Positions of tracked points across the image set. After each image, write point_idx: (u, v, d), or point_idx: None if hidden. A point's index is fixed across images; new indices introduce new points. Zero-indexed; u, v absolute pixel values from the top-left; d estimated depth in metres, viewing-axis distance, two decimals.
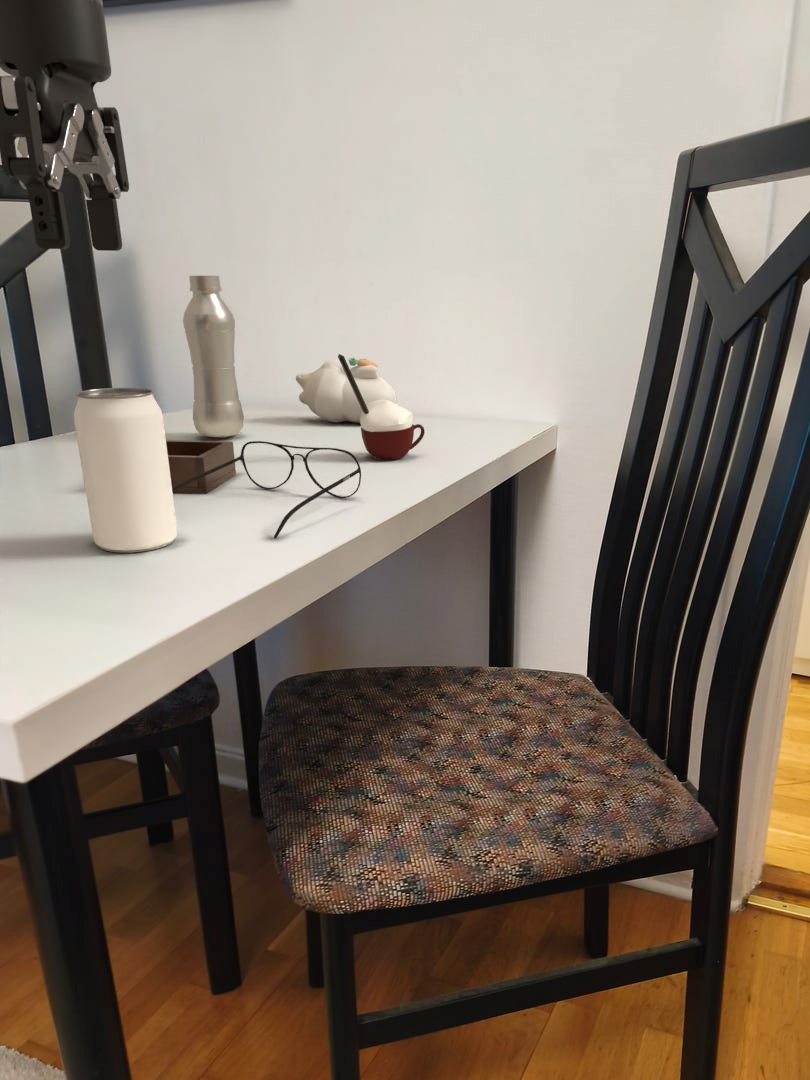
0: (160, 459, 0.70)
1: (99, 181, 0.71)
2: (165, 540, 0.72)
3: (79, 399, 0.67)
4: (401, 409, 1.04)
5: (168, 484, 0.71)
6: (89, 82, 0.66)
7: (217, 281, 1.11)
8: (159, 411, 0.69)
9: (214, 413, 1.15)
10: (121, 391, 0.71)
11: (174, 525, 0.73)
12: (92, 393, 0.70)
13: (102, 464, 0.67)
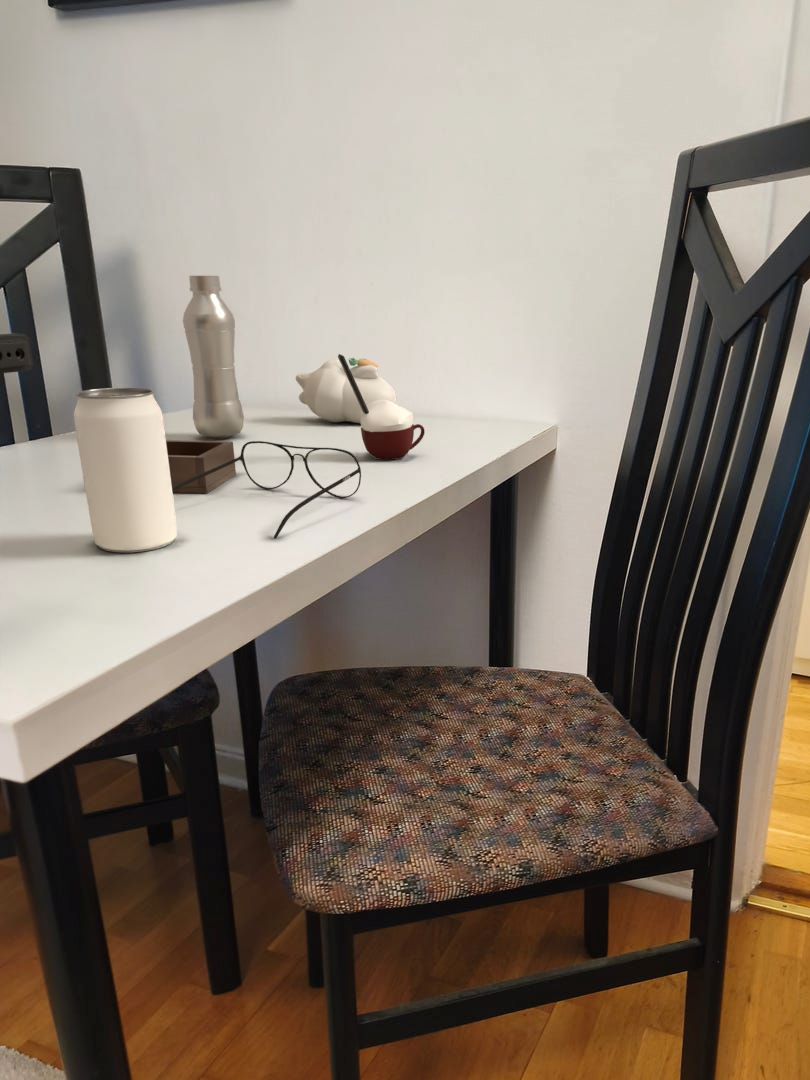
0: (160, 459, 0.70)
1: None
2: (165, 540, 0.72)
3: (79, 399, 0.67)
4: (401, 409, 1.04)
5: (168, 484, 0.71)
6: None
7: (217, 281, 1.11)
8: (159, 411, 0.69)
9: (214, 413, 1.15)
10: (121, 391, 0.71)
11: (174, 525, 0.73)
12: (92, 393, 0.70)
13: (102, 464, 0.67)
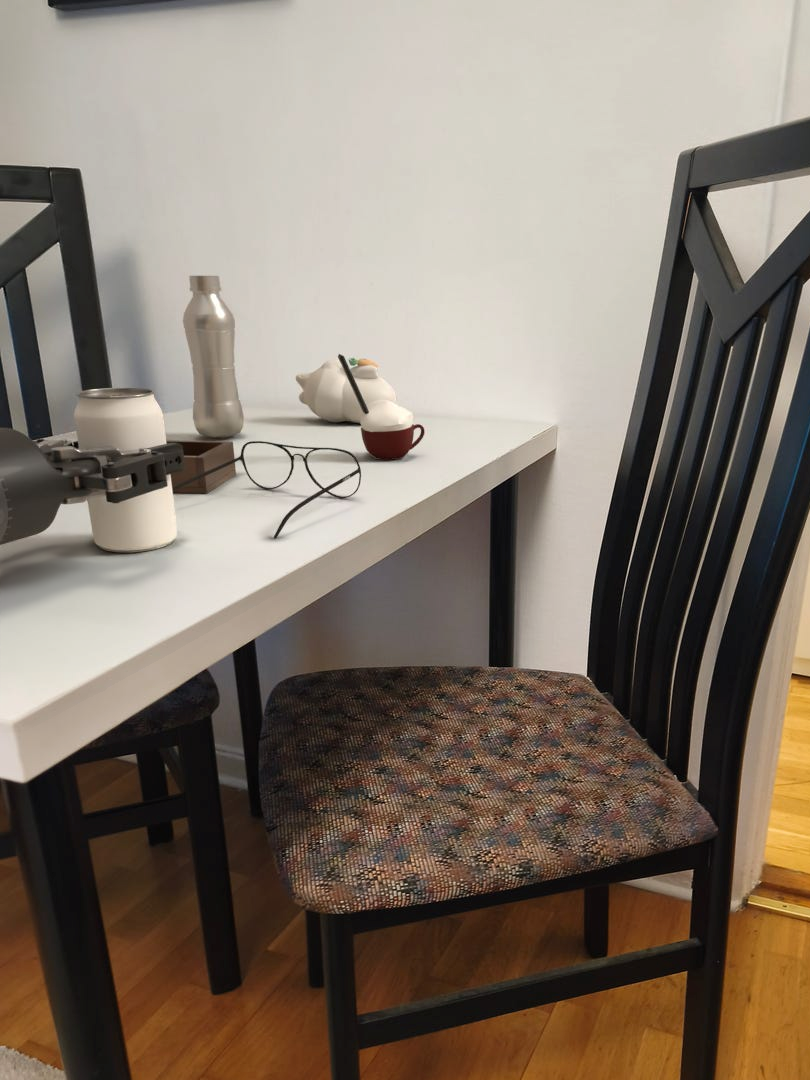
0: None
1: None
2: (165, 540, 0.72)
3: (80, 399, 0.67)
4: (401, 409, 1.04)
5: (168, 484, 0.71)
6: None
7: (217, 281, 1.11)
8: (159, 411, 0.69)
9: (214, 413, 1.15)
10: (122, 391, 0.71)
11: (174, 525, 0.73)
12: (92, 393, 0.70)
13: (102, 464, 0.67)
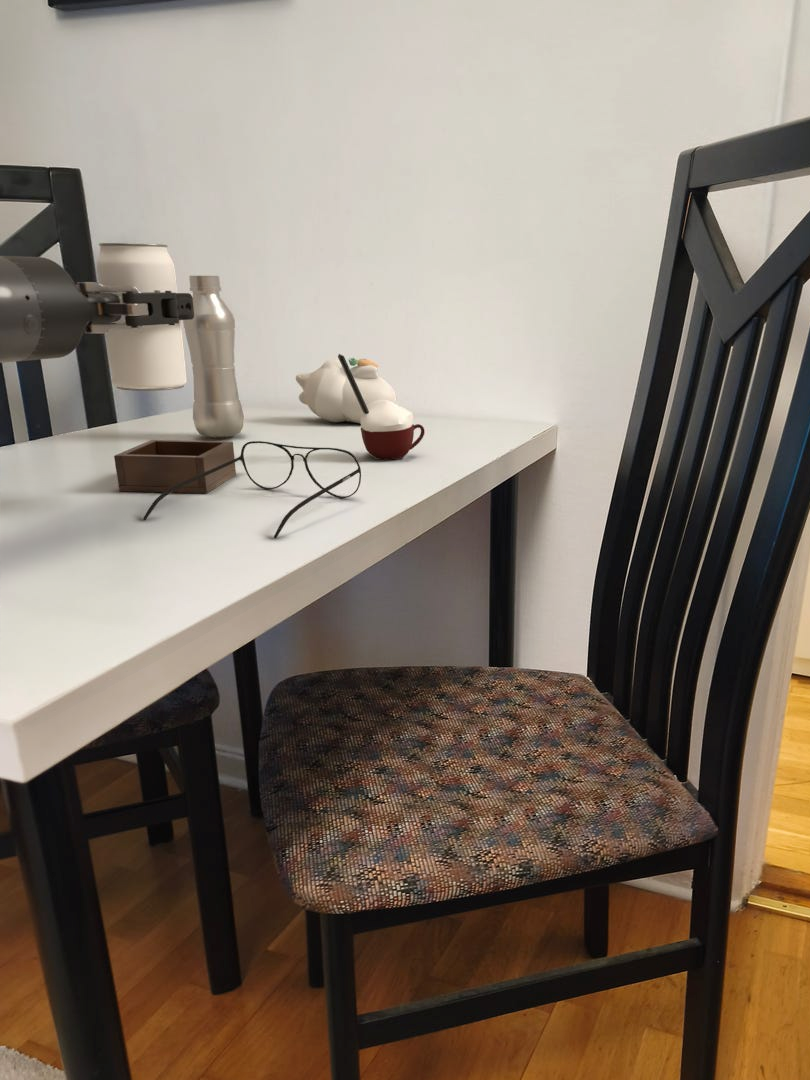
0: None
1: None
2: (176, 382, 0.80)
3: (102, 247, 0.76)
4: (401, 409, 1.04)
5: (179, 331, 0.80)
6: None
7: (217, 281, 1.11)
8: (172, 263, 0.78)
9: (214, 413, 1.15)
10: None
11: (184, 371, 0.81)
12: None
13: None
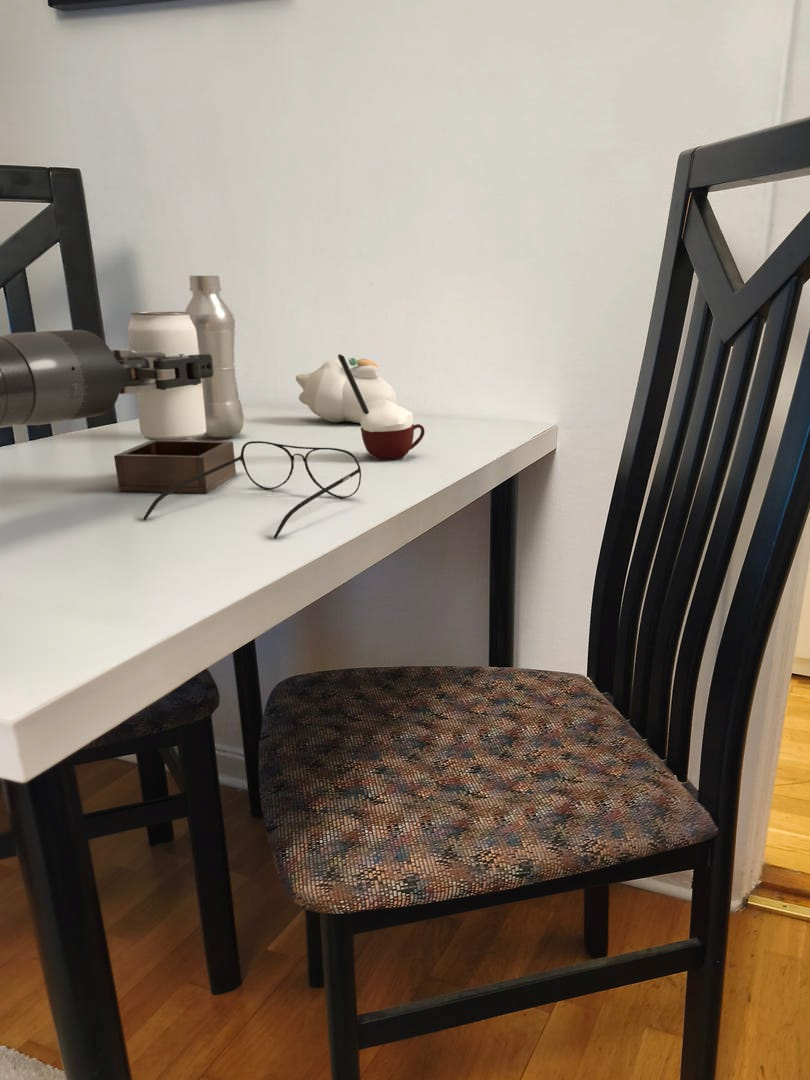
0: None
1: None
2: (197, 432, 0.90)
3: (133, 316, 0.86)
4: (401, 409, 1.04)
5: (200, 388, 0.90)
6: None
7: (217, 281, 1.11)
8: (194, 328, 0.88)
9: (214, 413, 1.15)
10: None
11: (204, 422, 0.91)
12: None
13: (150, 367, 0.86)
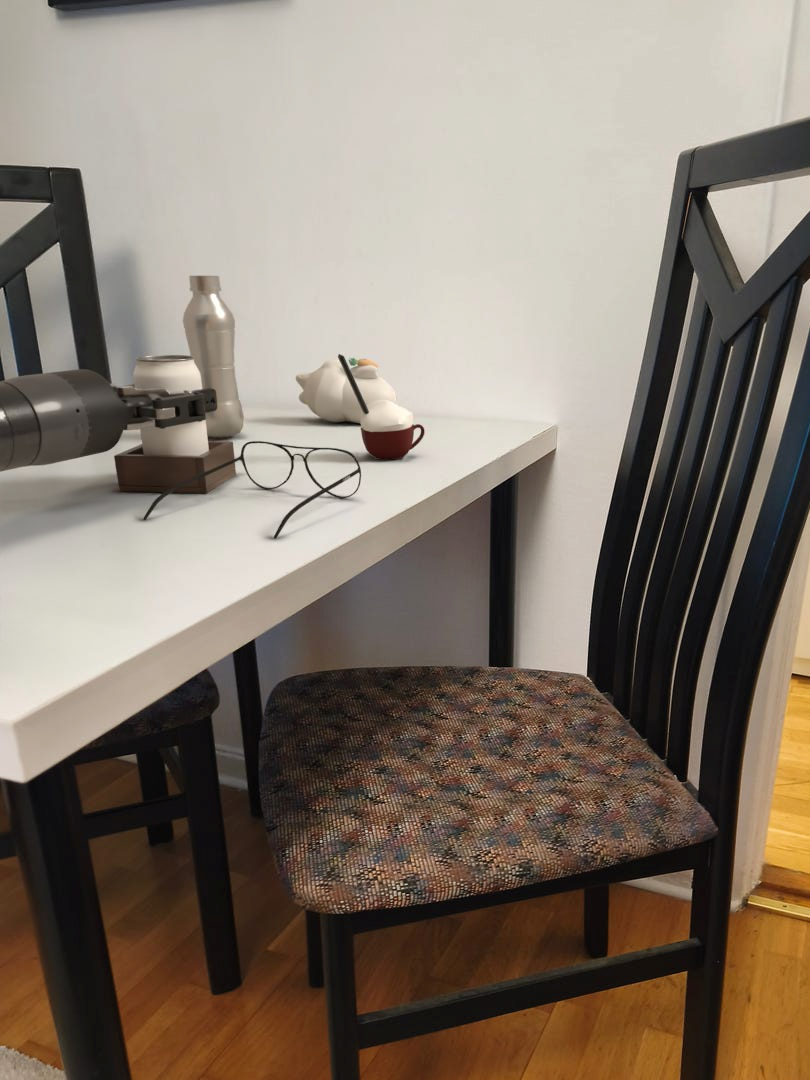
0: None
1: None
2: None
3: (138, 362, 0.87)
4: (401, 409, 1.04)
5: (204, 430, 0.91)
6: None
7: (217, 281, 1.11)
8: (198, 372, 0.89)
9: (214, 413, 1.15)
10: (168, 358, 0.91)
11: None
12: (146, 359, 0.90)
13: None
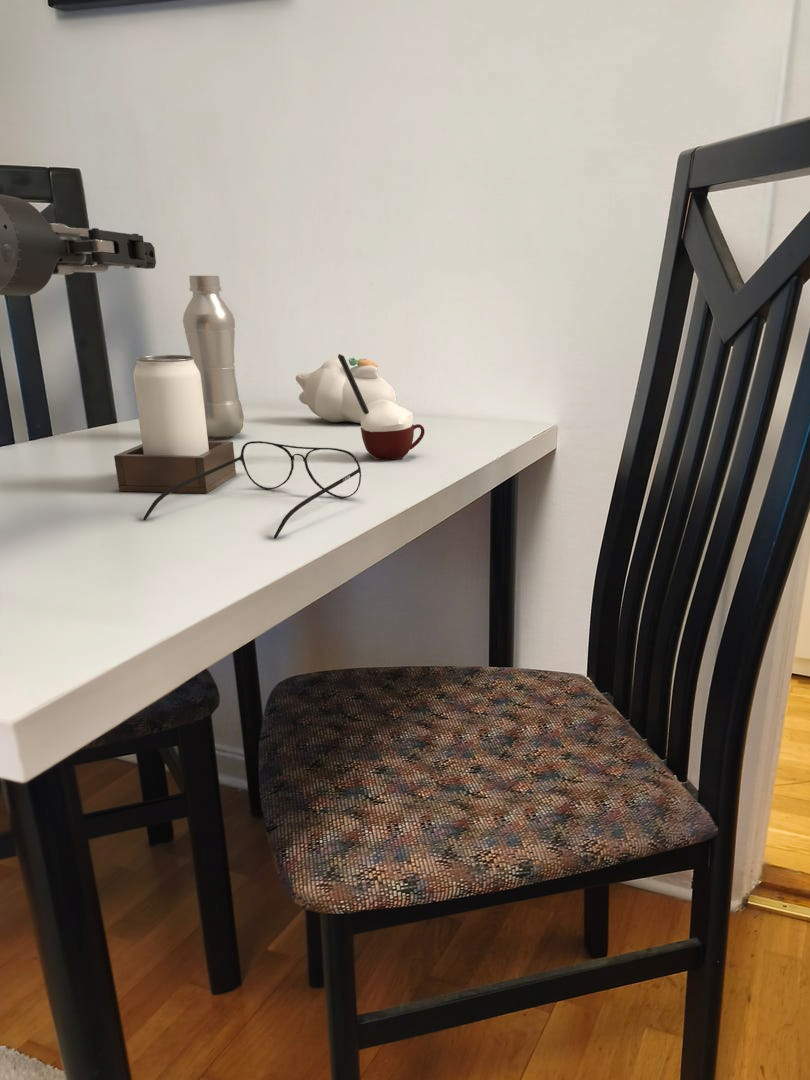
0: (199, 410, 0.90)
1: None
2: None
3: (138, 362, 0.87)
4: (401, 409, 1.04)
5: (204, 430, 0.91)
6: None
7: (217, 281, 1.11)
8: (198, 372, 0.89)
9: (214, 413, 1.15)
10: (168, 357, 0.91)
11: None
12: (146, 359, 0.90)
13: (155, 412, 0.88)
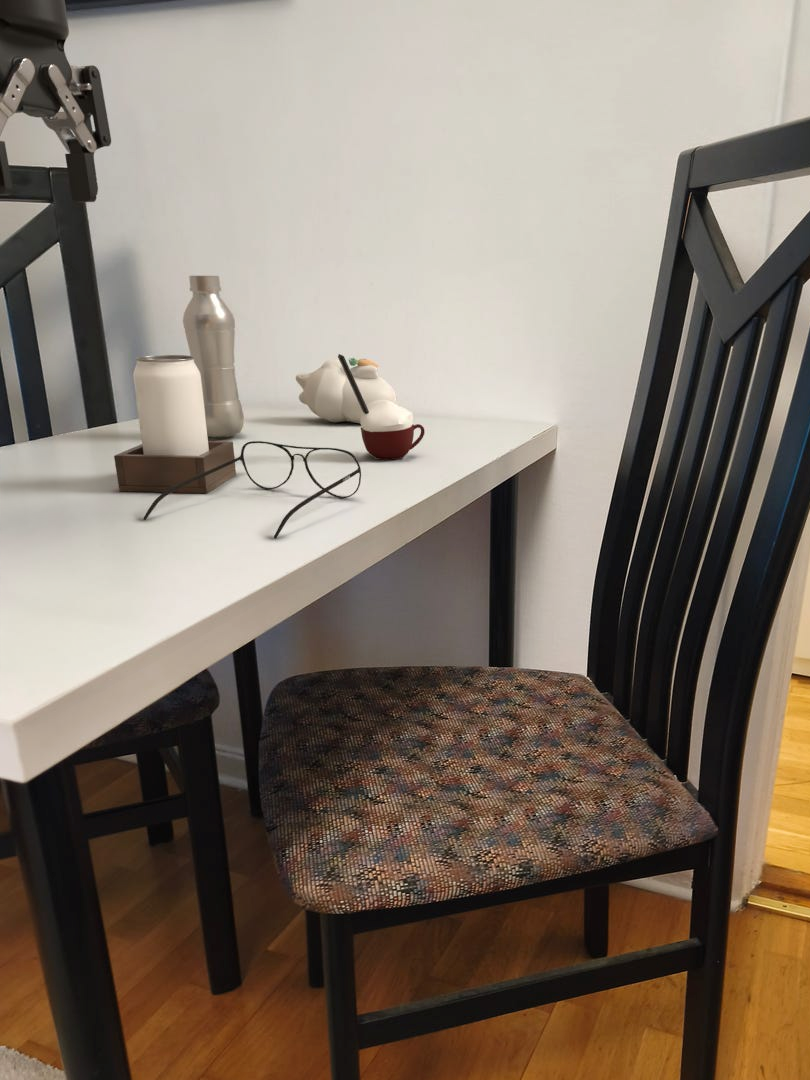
0: (199, 410, 0.90)
1: None
2: None
3: (138, 362, 0.87)
4: (401, 409, 1.04)
5: (204, 430, 0.91)
6: (52, 40, 0.71)
7: (217, 281, 1.11)
8: (198, 372, 0.89)
9: (214, 413, 1.15)
10: (168, 357, 0.91)
11: None
12: (146, 359, 0.90)
13: (155, 412, 0.88)
